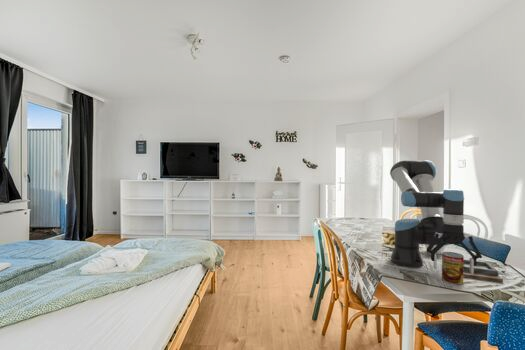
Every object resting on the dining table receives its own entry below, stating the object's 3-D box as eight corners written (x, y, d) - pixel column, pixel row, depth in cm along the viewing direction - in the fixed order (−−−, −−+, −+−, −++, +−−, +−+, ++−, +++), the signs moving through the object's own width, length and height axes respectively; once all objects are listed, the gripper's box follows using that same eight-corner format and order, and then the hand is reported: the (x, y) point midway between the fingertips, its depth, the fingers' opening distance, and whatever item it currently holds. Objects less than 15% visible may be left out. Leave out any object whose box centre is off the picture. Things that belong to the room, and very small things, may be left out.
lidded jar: (442, 256, 152) (442, 240, 152) (421, 252, 160) (421, 237, 160) (447, 252, 159) (447, 237, 159) (427, 248, 167) (427, 234, 167)
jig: (453, 275, 124) (454, 268, 124) (445, 263, 140) (445, 257, 140) (502, 282, 116) (503, 274, 116) (488, 268, 133) (488, 261, 133)
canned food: (440, 280, 119) (440, 254, 118) (443, 275, 124) (444, 250, 124) (461, 286, 113) (461, 258, 113) (464, 280, 118) (465, 254, 118)
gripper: (422, 222, 120) (421, 268, 120) (491, 227, 109) (491, 278, 109) (420, 220, 127) (419, 263, 127) (485, 224, 116) (484, 272, 116)
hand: (452, 270), depth 118 cm, fingers open, 13 cm apart
